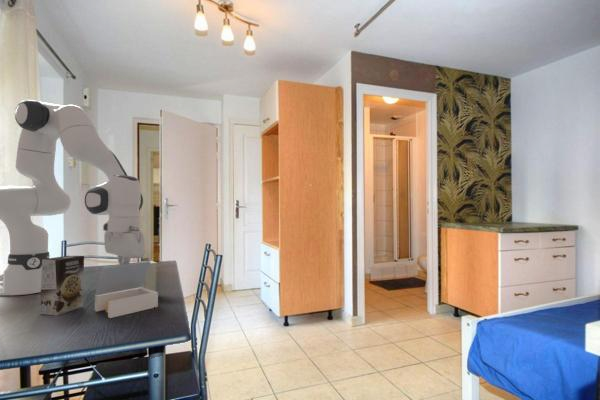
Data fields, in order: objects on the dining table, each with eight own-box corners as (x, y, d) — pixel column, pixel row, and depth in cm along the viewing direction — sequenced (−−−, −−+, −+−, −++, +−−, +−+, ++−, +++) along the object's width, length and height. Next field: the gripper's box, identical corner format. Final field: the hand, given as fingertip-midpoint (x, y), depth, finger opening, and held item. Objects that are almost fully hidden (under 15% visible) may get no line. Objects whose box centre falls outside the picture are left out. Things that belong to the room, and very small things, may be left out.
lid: (96, 295, 100) (94, 292, 100) (142, 287, 111) (140, 284, 111) (103, 268, 97) (102, 265, 97) (150, 262, 108) (148, 259, 108)
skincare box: (138, 295, 117) (138, 261, 118) (151, 293, 120) (152, 260, 120) (142, 299, 112) (143, 263, 113) (156, 297, 115) (157, 262, 116)
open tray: (94, 310, 100) (94, 295, 100) (140, 300, 111) (141, 287, 111) (110, 318, 93) (110, 302, 93) (157, 306, 104) (157, 292, 104)
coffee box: (57, 316, 95) (58, 259, 96) (39, 314, 96) (40, 258, 97) (84, 306, 104) (85, 255, 104) (66, 305, 105) (68, 254, 106)
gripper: (150, 227, 101) (150, 272, 100) (120, 224, 113) (120, 264, 113) (129, 227, 96) (128, 275, 95) (100, 225, 108) (99, 267, 108)
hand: (123, 269), depth 104 cm, fingers closed
